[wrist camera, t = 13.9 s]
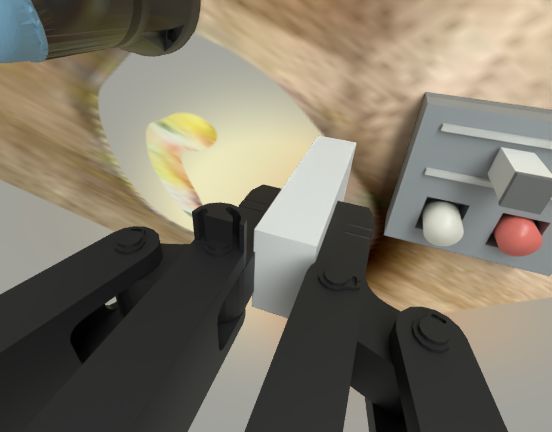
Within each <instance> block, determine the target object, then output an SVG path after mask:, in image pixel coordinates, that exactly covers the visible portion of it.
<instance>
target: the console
mask: <svg viewBox="0 0 552 432" xmlns="http://www.w3.org/2000/svg"><path fill="white" fill-rule="evenodd" d="M501 147H503V148H509V149H515V150H521V151H526V152H532V153H535V154H536V155H537V156H538V157H539V159H540V160H541V161H542V162H543V164H544V165H545V166H546V167H547V169H548V170H549V171H550V172H551V174H552V110H548V109H541V108H534V107H527V106H520V105H513V104H506V103H499V102H492V101H485V100H478V99H471V98H464V97H457V96H450V95H443V94H436V93H429V92H426V93H425V96H424V99H423V102H422V106H421V109H420V112H419V115H418V118H417V121H416V124H415V127H414V130H413V134H412V137H411V140H410V143H409V146H408V149H407V152H406V155H405V158H404V162H403V165H402V168H401V171H400V174H399V177H398V180H397V183H396V186H395V190H394V193H393V196H392V199H391V202H390V205H389V208H388V211H387V214H386V222H385V231H384V235H386V236H390V237H394V238H398V239H402V240H406V241H410V242H414V243H418V244H422V245H426V246H430V247H434V248H438V249H442V250H446V251H450V252H454V253H458V254H462V255H466V256H470V257H474V258H478V259H482V260H486V261H490V262H494V263H498V264H502V265H506V266H510V267H514V268H518V269H522V270H526V271H530V272H535V273H539V274H543V275H547V276H550V275H551V273H552V198H551V199H550V201H549V202H548V204H547V205H546V207H545V208H544V210H543V211H542V213H541V214H540V215H539V214H534V213H530V212H525V211H520V210H515V209H511V208H506V207H501V206H499V204H498V202H499V199H498V197H497V195H496V192H495V190H494V188H493V186H492V183H491V181H490V179H489V176H488V172H489V170H490V168H491V166H492V164H493V162H494V160H495V158H496V156H497V154H498V152H499V150H500V148H501ZM436 199H441V200H446V201H450V202H454V203H455V204H456V205H457V206H458V208H459V212H460V216H461V221H462V225H463V230H464V233H463V236H462V238H461V239H460V240H459V241H458V242H457V243H455V244H453V245H450V246H436V245H433V244H431V243H429V242H428V241H427V240H426V239H425V237H424V234H423V217H422V212H423V209H424V207H425V206H426V205H427V204H428V203H429V202H431V201H433V200H436ZM503 213H506V214H511V215H516V216H520V217H525V218H530V219H532V220H533V222H534V223H535V225H536V227H537V229H538V231H539V232H540V234H541V236H542V245H541V246H540V248H539V249H538V250H537V251H535V252H534V253H532V254H529V255H526V256H519V257H518V256H510V255H507V254H505V253H503V252H502V251H501V250H500V249H499V247H498V244H497V241H496V239H495V236H494V233H493V230H494V228H495V226H496V224H497V223H498V221H499V219H500V217H501V216H502V214H503Z"/></svg>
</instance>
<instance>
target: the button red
mask: <svg viewBox="0 0 552 432" xmlns="http://www.w3.org/2000/svg"><path fill="white" fill-rule="evenodd" d="M493 233H494V236H495V239H496V241H497V244H498V247H499V249H500V250H501V251H502V252H503V253H505V254H507V255H510V256H518V257H519V256H526V255H529V254H532V253H534V252H535V251H537V250H538V249H539V248H540V246H541V245H542V236H541V234H540V232H539V231H538V229H537V227H536V225H535V223H534V222H533V220H532V219H530V218H525V217H520V216H516V215H511V214H506V213H503V214H502V216H501V217H500V219H499V221H498V223H497V224H496V226H495V228H494V230H493Z"/></svg>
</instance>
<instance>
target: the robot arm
mask: <svg viewBox="0 0 552 432" xmlns="http://www.w3.org/2000/svg"><path fill="white" fill-rule="evenodd" d="M199 12H200V0H0V62H1V63H13V62H23V61H30V62H42V61H44V60H49V59H54V58H59V57H65V56H70V55H75V54H81V53H86V52H92V51H97V50H102V49H108V48H113V47H116V48H120V49H123V50H126V51H129V52H133V53H136V54H139V55H144V56H160V55H165V54H169V53H173V52H174V51H177V50H178V49H180V48H181V47H182V46H184V45H185V43H186V42H187V41H188V40H189V39H190V37H191V36H192V34H193V32H194V30H195V27H196V24H197V21H198V17H199ZM355 147H356V143H355V142H350V141H344V140H339V139H334V138H328V137H323V136H318V137H317V138H316V140H315V141H314V142H313V144H312V145H311V147H310V148H309V150H308V151H307V153H306V154H305V156H304V157H303V159H302V160H301V162H300V163H299V165H298V166H297V168H296V169H295V171H294V172H293V173H292V175H291V176H290V178H289V179H288V181H287V182H286V184H285V185H284V187H283V188H282V189H280V188H276V187H271V186H267V185H261V186H259V187H257V188H255V189H253V190H252V191H251V192H250V193H249V194H248V195H247V196H246V198H245V199H244V200H243V201H242V202H241V204H240V205H239V207H237V206H234V205H232V204H226V203H209V204H206V205H203V206H200V207H198V208H197V209H195V210H194V211H192V217H193V227H194V236H195V239H194V241H193V242H192V243H191V244H160V240H159V235H158V234H157V233H156V232H155V231H154V230H153V229H150V228H147V227H136V226H134V227H129V228H123V229H121V230H118V231H116V232H113V233H112V234H110V235H108V236H106V237H104V238H102V239H101V240H99V241H97V242H95V243H94V244H92V245H90V246H88V247H86V248H84V249H82V250H81V251H79V252H77V253H75V254H73V255H72V256H70V257H68V258H66V259H64V260H62V261H61V262H59V263H57V264H55V265H53V266H52V267H50V268H48V269H46V270H44V271H42V272H41V273H39V274H37V275H35V276H34V277H31V278H30V279H28V280H26V281H24V282H22V283H21V284H19V285H17V286H15V287H13V288H12V289H10V290H8V291H6V292H4V293H2V294H0V432H188V430H189V428H190V426H191V424H192V422H193V420H194V418H195V416H196V414H197V412H198V410H199V408H200V406H201V404H202V402H203V400H204V398H205V396H206V395H207V393H208V391H209V389H210V387H211V385H212V383H213V381H214V379H215V377H216V375H217V373H218V371H219V369H220V367H221V365H222V363H223V362H224V360H225V357H226V355H227V354H228V352H229V350H230V348H231V346H232V344H233V342H234V340H235V338H236V336H237V334H238V332H239V330H240V328H241V326H242V325H243V322H244V319H245V307H246V305H247V303H248V301H249V300H250V297H251V296H252V307H255V308H258V309H261V310H264V311H267V312H270V313H273V314H276V315H279V316H282V317H285V318H288V321H287V324H286V326H285V328H284V332H283V334H282V336H281V339H280V341H279V344H278V347H277V349H276V352H275V354H274V357H273V360H272V362H271V365H270V367H269V370H268V372H267V375H266V378H265V380H264V383H263V385H262V388H261V391H260V393H259V396H258V398H257V401H256V403H255V406H254V409H253V411H252V414H251V416H250V419H249V422H248V424H247V427H246V429H245V432H343V427H344V420H345V414H346V408H347V402H348V395H349V389H350V386H351V387H353V388H354V389H355V390H357V391H358V392H360V394H362V395H363V396H365V402H366V410H367V417H368V426H369V432H508V431H507V428H506V426H505V424H504V422H503V419H502V417H501V415H500V412H499V410H498V408H497V406H496V403H495V401H494V399H493V397H492V394H491V392H490V390H489V387H488V385H487V383H486V381H485V378H484V376H483V374H482V372H481V369H480V367H479V365H478V363H477V360H476V358H475V356H474V353H473V351H472V349H471V347H470V344H469V342H468V340H467V338H466V336H465V335H464V333H463V332H462V330H461V329H460V327H459V326H458V325H456V324H455V323H454V322H453V321H452V320H451V319H450V318H449V317H447V316H445V315H443V314H441V313H440V312H438V311H436V310H433V309H429V308H425V307H409V308H407V309H405V310H403V311H401V312H400V311H399V310H397V309H395V308H393V307H392V306H390V305H388V304H387V303H385V302H384V301H382V300H381V299H379V298H378V297H377V296H376V295H375V294H374V293H373V292H372V291H371V289H370V288H369V286H368V284H367V281H366V267H367V261H368V255H369V249H370V242H371V236H372V230H373V224H374V217H373V215H372V213H371V211H370V209H369V208H367V207H363V206H358V205H354V204H350V203H345V202H343V201H344V197H345V192H346V188H347V183H348V179H349V174H350V170H351V165H352V160H353V156H354V151H355ZM114 297H116V300H117V302H115V303H113V304H111V305H105V303H106V302H108V301H109V300H111V299H112V298H114Z"/></svg>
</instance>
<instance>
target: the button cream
mask: <svg viewBox="0 0 552 432" xmlns="http://www.w3.org/2000/svg"><path fill="white" fill-rule="evenodd" d="M422 217H423V234H424V237H425V239H426V240H427V241H428V242H429V243H431V244H433V245H436V246H450V245H453V244H455V243H457V242H458V241H459V240H460V239H461V238H462V236H463V233H464V230H463V225H462V221H461V216H460V212H459V208H458V206H457V205H456V204H455V203H454V202H450V201H446V200H441V199H436V200H433V201H431V202H429V203H428V204H427V205H426V206H425V207H424V209H423V212H422Z"/></svg>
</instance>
